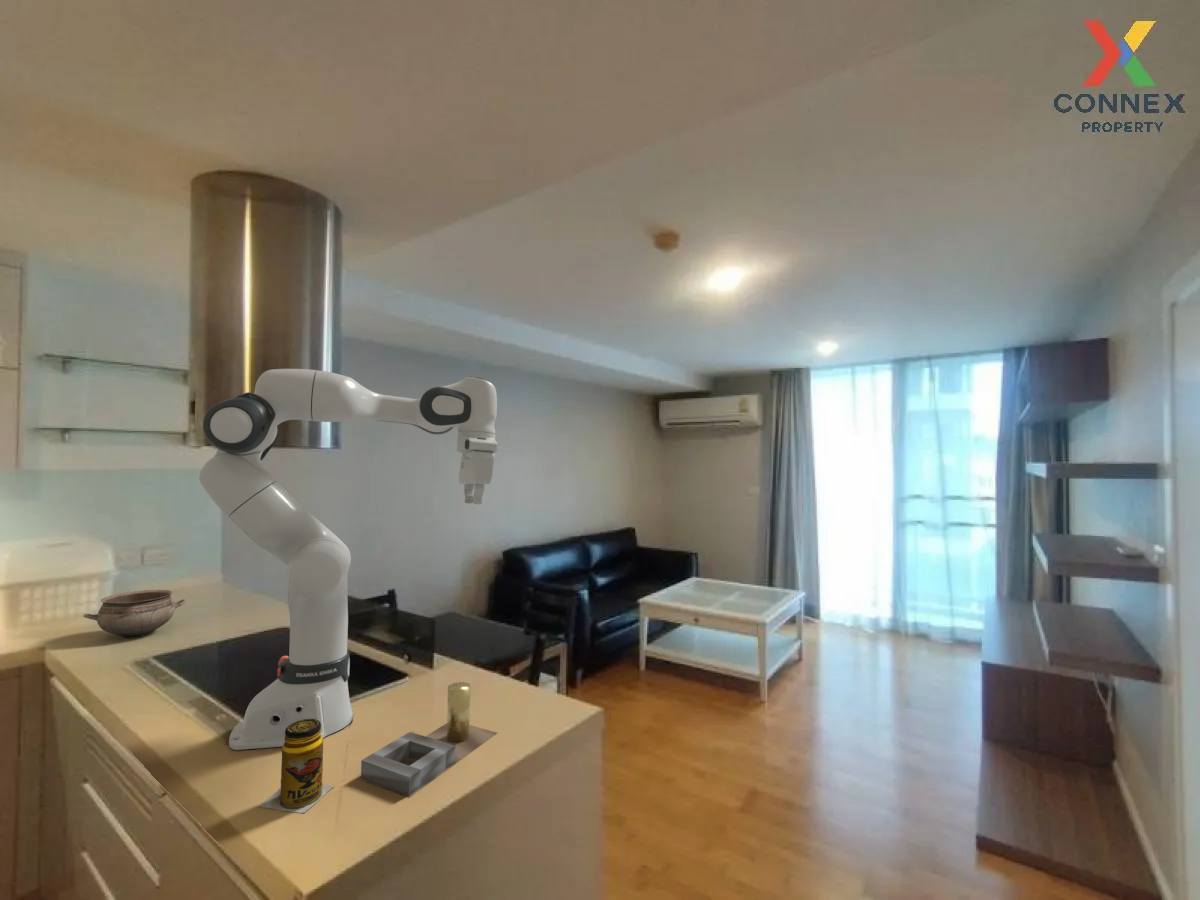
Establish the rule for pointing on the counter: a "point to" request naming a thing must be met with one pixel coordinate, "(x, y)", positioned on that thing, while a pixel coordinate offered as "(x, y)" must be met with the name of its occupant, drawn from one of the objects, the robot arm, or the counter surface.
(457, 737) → the translucent yellow cylinder
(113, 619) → the cooking pot
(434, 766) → the jig
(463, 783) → the counter surface
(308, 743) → the condiment
